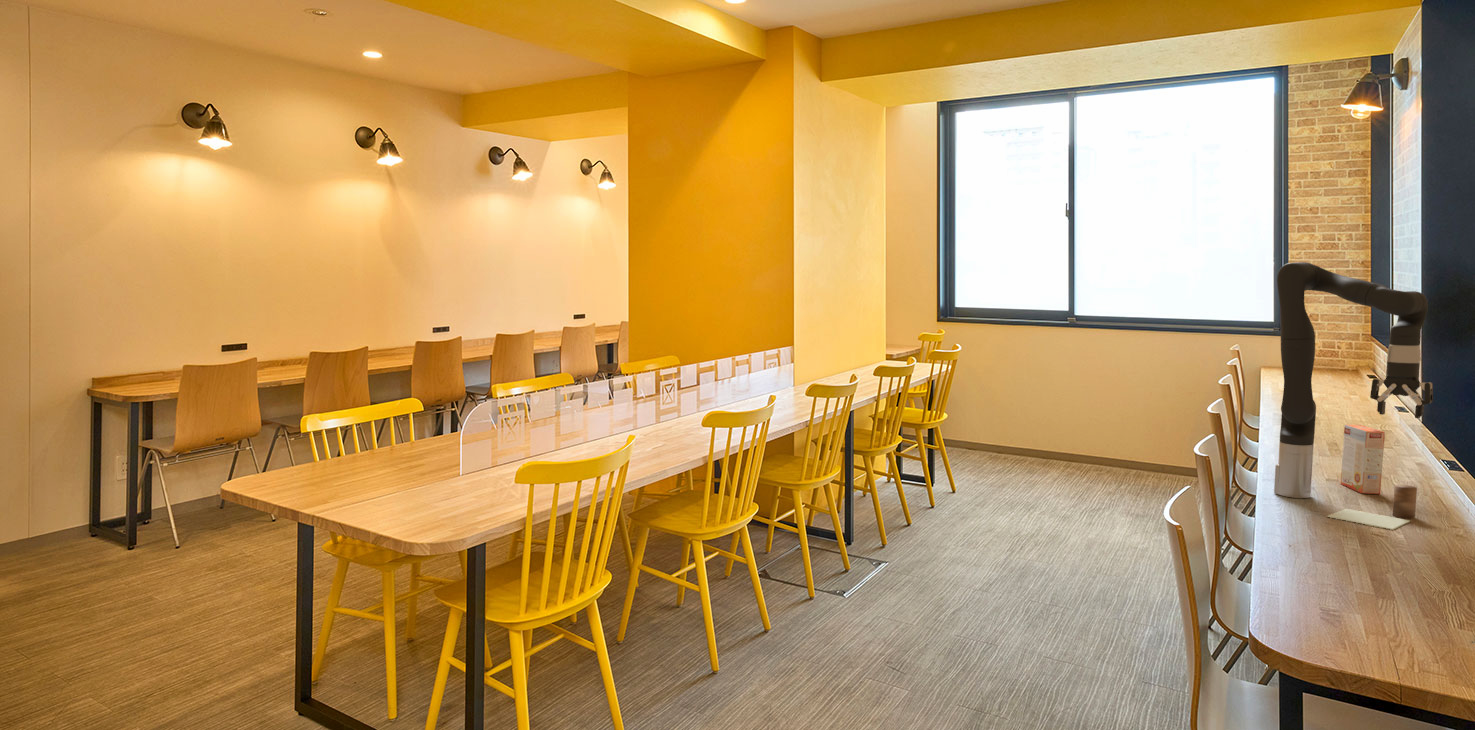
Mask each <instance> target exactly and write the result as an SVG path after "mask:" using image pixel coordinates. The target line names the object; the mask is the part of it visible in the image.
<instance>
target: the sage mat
mask: <svg viewBox="0 0 1475 730" xmlns="http://www.w3.org/2000/svg"><path fill="white" fill-rule="evenodd" d="M1327 517H1330V518H1329V519H1332V518H1336V519H1335V520H1337V519H1341V520H1340V521H1342V520H1346V521H1345V522H1347V521H1353V522H1356V523H1355V524H1358V523H1362V524H1361V525H1363V524H1365V526H1369V527H1373V526H1374V528H1378V527H1379V528H1378V529H1383V528H1386V529H1385V530H1389V529H1390V531H1394V530H1396V529H1398V528H1401V527H1402V526H1404V525H1407V524H1409V523H1410V522H1411V519H1403V518H1397V517H1394V516H1388V515H1383V514H1377V513H1373V512H1367V511H1360V510H1357V509H1350V508H1343V509H1342V510H1339V511H1336V512H1334V513H1331V514H1328V515H1327V516H1326V518H1327Z"/></svg>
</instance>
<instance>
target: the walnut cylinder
mask: <svg viewBox="0 0 1475 730" xmlns="http://www.w3.org/2000/svg"><path fill="white" fill-rule="evenodd" d="M1417 493H1418V487H1416V486H1414V485H1413V486H1412V485H1410V484H1409V485H1408V484H1407V485H1406V484H1395V485H1394V489H1393V502H1392V517H1394V516H1395V518H1397V517H1398V518H1400V519H1405V520H1414V519H1416V507H1417V495H1418V494H1417Z"/></svg>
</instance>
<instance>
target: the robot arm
mask: <svg viewBox="0 0 1475 730" xmlns="http://www.w3.org/2000/svg"><path fill="white" fill-rule="evenodd" d="M1276 284H1277V293H1278V298H1279V300H1278V301H1279V306H1280V307H1279V308H1280V309H1279V310H1280V311H1279V312H1280V358H1281V367H1282V374H1283V392H1282V393H1283V394H1282V400H1281V406H1280V411H1281V417H1280V419H1281V420H1280V431H1279V444H1278V445H1279V447H1278V464H1275V470H1274V486H1273V487H1274V489H1273V494H1277V495H1280V496H1282V497H1286V498H1287V497H1288V498H1293V499H1309V498H1310V497H1311V493H1312V476H1313V462H1314V461H1313V460H1314V445H1315V443H1314V441H1315V432H1316V430H1315V429H1316V417H1317V405H1316V401H1315V400H1314V398H1313V397H1314V395H1313V388H1312V378H1313V370H1314V366H1315V365H1314V364H1315V357H1316V333H1315V332H1316V331H1315V328H1314V326H1313V324H1312V322H1311V319H1310V317H1309V315H1308V313H1307V309H1306V306H1305V305H1306V304H1305V292H1306V291H1314V292H1315V291H1316V292H1324V293H1329V294H1332V295H1334V296H1337V297H1339V298H1341V299H1342V300H1346V301H1348V302H1350V303H1354V304H1357V305H1362V306H1365V307H1369V308H1373V309H1374V308H1375V309H1377V310H1379V311H1382V312H1384V313H1387V314H1390V315H1393V316H1397V321H1396V323H1395V324H1394V325H1392V327H1390V330H1389V342H1388V348H1387V353H1386V354H1387V357H1386V372H1385V379H1380V378H1373V379H1372V382H1371V390H1370V399H1372V400H1375V401H1376V402H1377V409H1376V412H1377V413H1378V414H1379V415H1385V413H1386V404H1387V403H1386V400H1387V399H1388V398H1389V397H1390V396H1391V395H1393V396H1403V397H1408V396H1409V397H1410V399H1412V400H1413V401H1414V403H1415V404H1416V405H1415V411H1414V418H1415V419H1420V418H1422V417H1423V416H1424V408H1425V405H1428V404H1432V403H1433V401H1434V397H1433V395H1434V391H1433V390H1434V388H1433V387H1434V386H1433V385H1434V384H1433V382H1431V381H1429V382H1421V380H1420V379H1419V378H1420V368H1421V367H1420V366H1421V365H1420V364H1421V353H1422V352H1421V339H1422V338H1421V337H1422V336H1421V335H1422V334H1421V333H1422V328H1423V326H1424V324H1425V320H1426V316H1427V313H1428V307H1429V305H1428V300H1427V297H1426V295H1424V294H1423V293H1422V292H1419V291H1414V290H1411V291H1410V290H1409V291H1403V290H1397V289H1392V288H1389V287H1388V286H1386V285H1384V284H1380V283H1376V282H1371V281H1367V280H1363V279H1359V278H1356V277H1355V278H1353V277H1350V276H1346V275H1342V274H1339V273H1335V272H1332V271H1331V270H1327V269H1325V268H1323V267H1320V266H1318V265H1315V264H1314V263H1311V262H1308V261H1307V262H1305V261H1304V262H1302V261H1300V262H1299V261H1297V262H1295V261H1294V262H1288V263H1285V264H1284V265H1282V266H1281V267H1280V268H1279V270H1278V273H1277V276H1276ZM1383 384H1384V386H1385V388H1386V390H1384V392H1382V394H1381V395H1379V394H1380V393H1379V392H1380V387H1382V386H1383ZM1420 387H1421V389H1422V390H1423V391H1424V399H1423V398H1422V396H1421V394H1420V393H1419V392H1418V391H1417V390H1418V389H1419V388H1420Z"/></svg>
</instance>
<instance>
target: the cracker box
mask: <svg viewBox="0 0 1475 730" xmlns="http://www.w3.org/2000/svg"><path fill="white" fill-rule="evenodd" d="M1385 435H1386V432H1385V431H1383V430H1380V429H1377V428H1373V427H1369V426H1367V425H1362V424H1344V430H1343V445H1342V457H1341V471H1340V472H1341V473H1340V485H1342V486H1344V487H1346V486H1347V488H1349V489H1351V490H1353V491H1355V492H1358V493H1360V494H1365V495H1381V487H1382V475H1383V462H1384V460H1383V458H1384V451H1385V450H1384V448H1385V438H1386V437H1385Z"/></svg>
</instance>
